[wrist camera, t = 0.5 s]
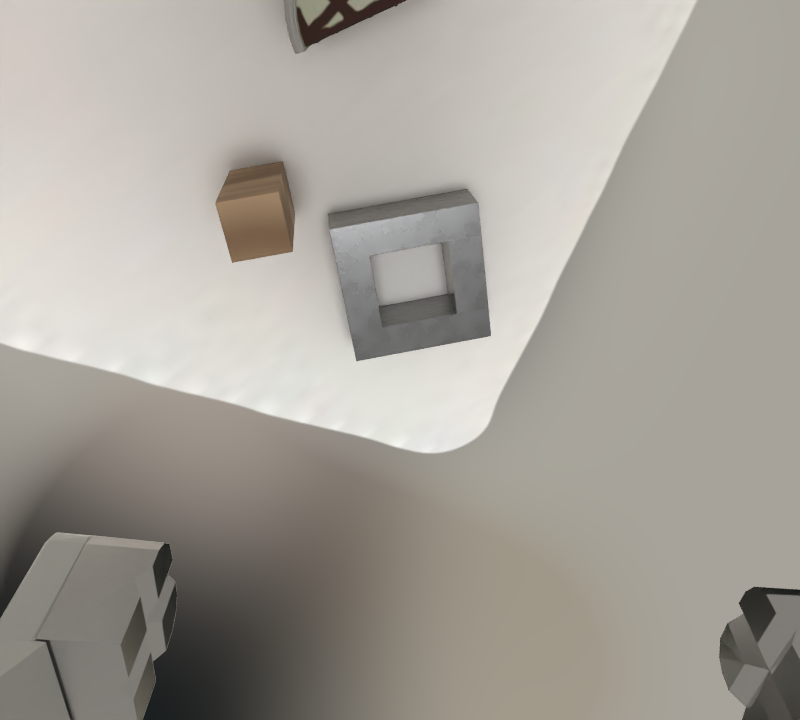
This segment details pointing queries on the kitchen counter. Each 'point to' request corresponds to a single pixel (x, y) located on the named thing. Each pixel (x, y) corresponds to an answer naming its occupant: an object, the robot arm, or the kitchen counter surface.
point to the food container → (327, 18)
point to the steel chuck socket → (403, 229)
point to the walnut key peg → (257, 212)
